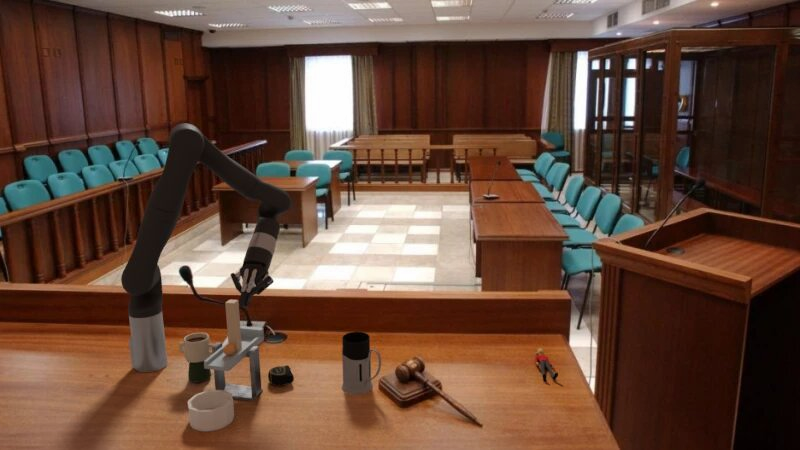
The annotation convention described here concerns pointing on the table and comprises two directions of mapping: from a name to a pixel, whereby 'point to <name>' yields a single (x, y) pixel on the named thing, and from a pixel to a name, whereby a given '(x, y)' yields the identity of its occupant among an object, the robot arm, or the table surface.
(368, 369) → the glass holder
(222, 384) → the stand
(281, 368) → the tape measure
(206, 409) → the cup
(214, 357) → the tipping board
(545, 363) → the person figure
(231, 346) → the ball
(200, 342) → the character mug
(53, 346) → the table surface
